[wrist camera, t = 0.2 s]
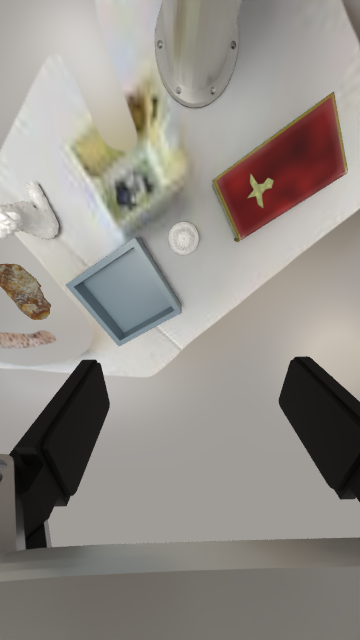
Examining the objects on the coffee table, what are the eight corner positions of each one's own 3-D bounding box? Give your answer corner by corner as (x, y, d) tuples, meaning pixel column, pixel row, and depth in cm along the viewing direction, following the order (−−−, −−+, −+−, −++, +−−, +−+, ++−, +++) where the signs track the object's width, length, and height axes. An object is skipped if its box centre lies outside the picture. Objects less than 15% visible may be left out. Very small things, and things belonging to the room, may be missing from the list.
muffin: (184, 259, 41) (185, 264, 35) (163, 240, 40) (160, 241, 33) (202, 236, 39) (207, 236, 33) (181, 216, 38) (182, 212, 31)
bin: (77, 279, 43) (65, 284, 38) (139, 237, 39) (134, 237, 35) (124, 336, 49) (119, 346, 45) (181, 304, 46) (181, 312, 41)
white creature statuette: (36, 179, 35) (-28, 154, 24) (74, 218, 38) (32, 211, 27) (11, 217, 37) (-57, 210, 26) (49, 250, 40) (1, 256, 29)
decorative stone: (-1, 254, 36) (57, 313, 43) (14, 250, 39) (66, 304, 47) (-35, 276, 37) (27, 329, 45) (-17, 270, 41) (38, 320, 48)
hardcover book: (331, 180, 36) (349, 173, 32) (234, 241, 40) (240, 241, 36) (315, 107, 31) (335, 90, 28) (209, 185, 36) (213, 179, 32)
